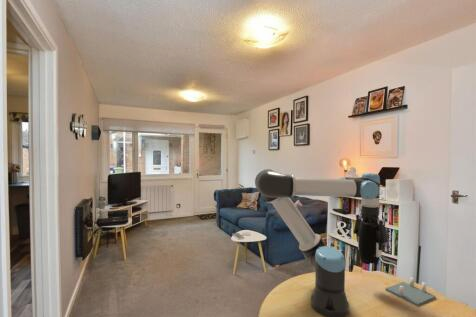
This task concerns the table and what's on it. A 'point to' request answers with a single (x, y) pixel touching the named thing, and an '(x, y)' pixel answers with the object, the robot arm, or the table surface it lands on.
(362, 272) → the table surface
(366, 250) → the portable speaker
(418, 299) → the pin pad
